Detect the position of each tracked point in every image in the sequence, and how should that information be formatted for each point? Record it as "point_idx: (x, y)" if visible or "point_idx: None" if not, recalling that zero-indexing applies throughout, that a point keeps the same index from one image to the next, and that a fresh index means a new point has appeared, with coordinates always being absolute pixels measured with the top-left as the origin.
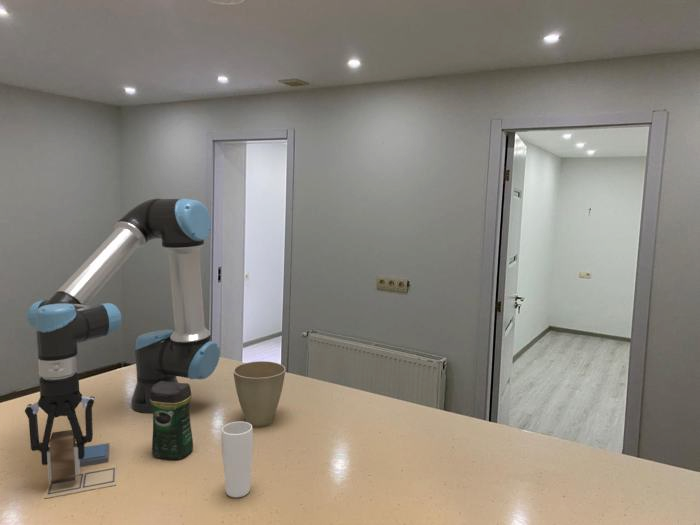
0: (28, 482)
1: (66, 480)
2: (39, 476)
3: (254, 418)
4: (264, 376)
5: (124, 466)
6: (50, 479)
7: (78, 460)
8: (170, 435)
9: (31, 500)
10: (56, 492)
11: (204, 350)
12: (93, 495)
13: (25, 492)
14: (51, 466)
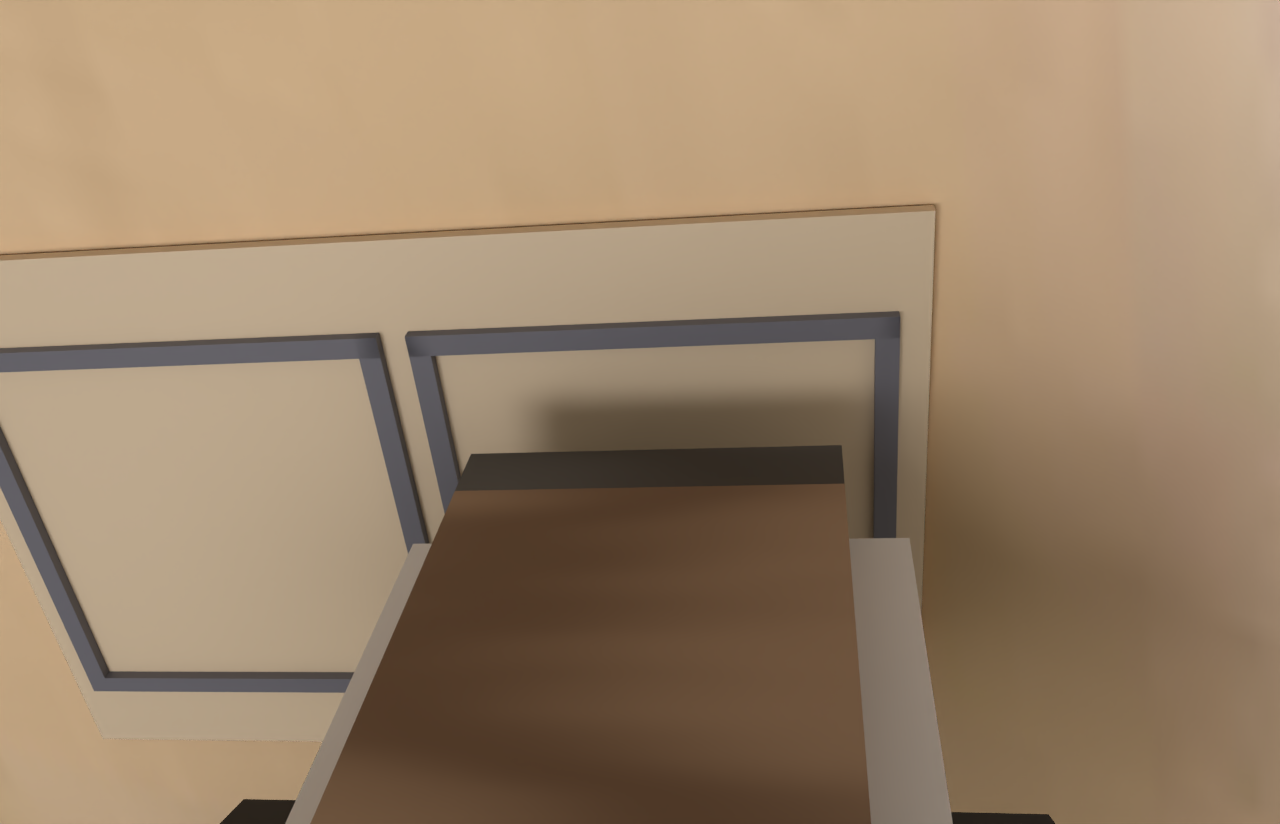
0: (1205, 733)
1: (600, 464)
2: (1066, 817)
3: None
4: None
5: (10, 699)
6: (875, 543)
7: (330, 772)
8: None
9: (1147, 233)
10: (764, 322)
11: None
12: (136, 60)
13: (1245, 501)
14: (848, 703)
